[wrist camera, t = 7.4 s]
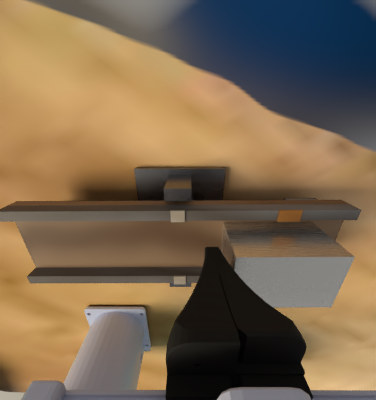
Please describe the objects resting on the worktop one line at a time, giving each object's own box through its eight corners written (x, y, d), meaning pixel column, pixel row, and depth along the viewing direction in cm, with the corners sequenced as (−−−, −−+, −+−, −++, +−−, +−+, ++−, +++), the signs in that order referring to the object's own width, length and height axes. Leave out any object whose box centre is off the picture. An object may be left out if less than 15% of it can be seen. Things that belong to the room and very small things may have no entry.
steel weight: (298, 264, 16) (331, 307, 12) (219, 264, 16) (229, 307, 12) (311, 221, 14) (354, 256, 11) (223, 222, 14) (235, 257, 11)
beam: (303, 253, 19) (330, 283, 15) (59, 254, 19) (29, 284, 15) (324, 190, 16) (362, 210, 13) (36, 191, 16) (-8, 211, 13)
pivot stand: (216, 261, 21) (222, 291, 17) (79, 261, 21) (55, 291, 17) (223, 167, 16) (234, 180, 13) (48, 167, 16) (8, 180, 13)
